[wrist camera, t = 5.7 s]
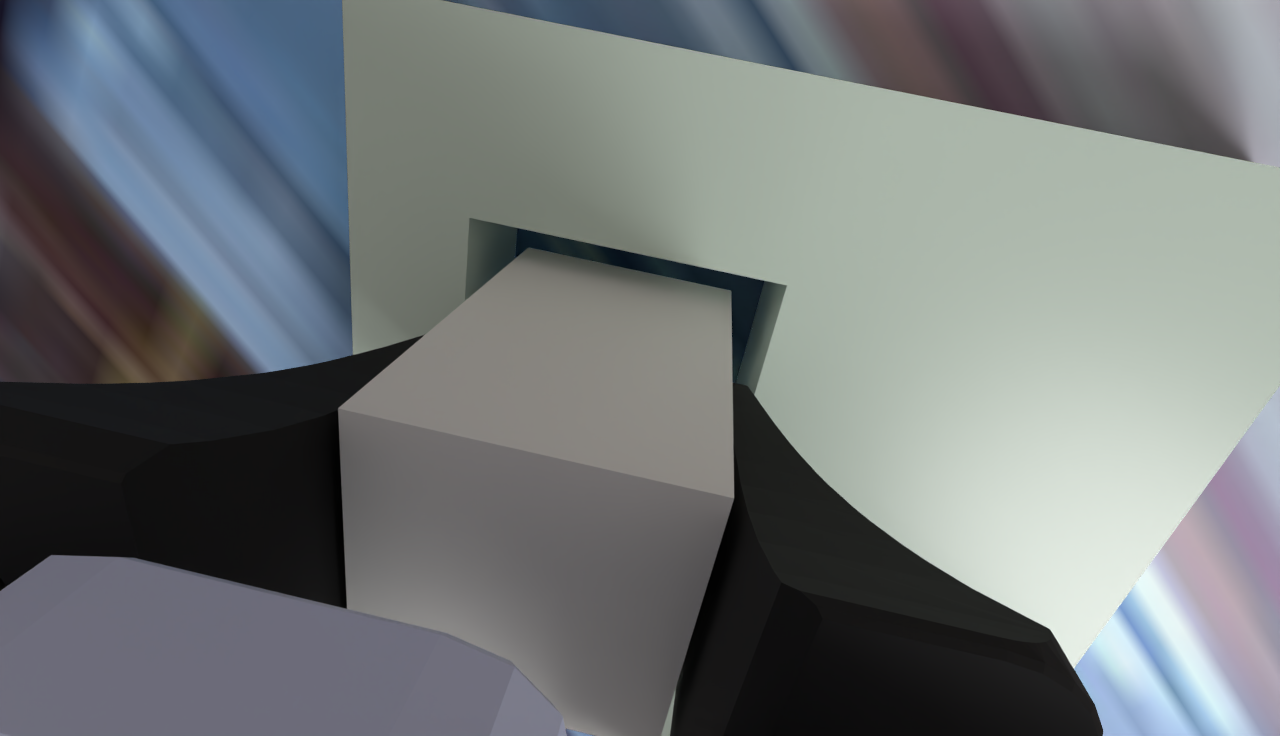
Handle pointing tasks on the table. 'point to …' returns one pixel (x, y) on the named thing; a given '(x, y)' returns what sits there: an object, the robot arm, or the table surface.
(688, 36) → the table surface
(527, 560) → the block
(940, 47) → the table surface
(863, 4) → the table surface
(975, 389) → the pale green square slab
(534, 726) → the robot arm
